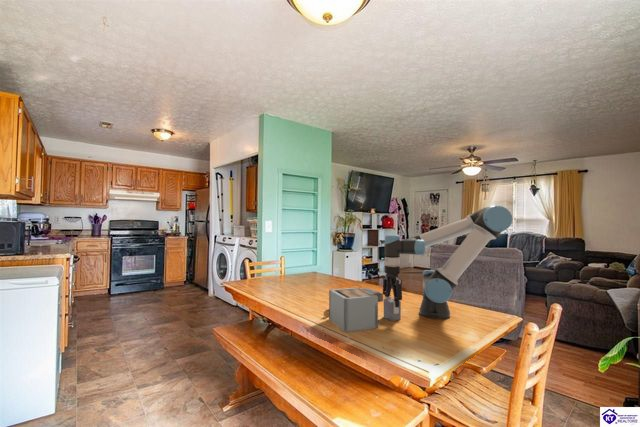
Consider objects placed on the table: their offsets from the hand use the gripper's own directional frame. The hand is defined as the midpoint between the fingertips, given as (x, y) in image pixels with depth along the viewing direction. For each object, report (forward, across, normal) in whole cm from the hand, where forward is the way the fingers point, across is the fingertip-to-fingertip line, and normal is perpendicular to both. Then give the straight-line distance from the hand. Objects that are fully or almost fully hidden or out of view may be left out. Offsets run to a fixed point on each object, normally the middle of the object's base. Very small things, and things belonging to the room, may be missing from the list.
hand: (392, 311), depth 151 cm
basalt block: (+3, 0, 0) cm, 3 cm away
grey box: (+3, 0, -22) cm, 22 cm away
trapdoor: (-8, 0, -18) cm, 20 cm away
